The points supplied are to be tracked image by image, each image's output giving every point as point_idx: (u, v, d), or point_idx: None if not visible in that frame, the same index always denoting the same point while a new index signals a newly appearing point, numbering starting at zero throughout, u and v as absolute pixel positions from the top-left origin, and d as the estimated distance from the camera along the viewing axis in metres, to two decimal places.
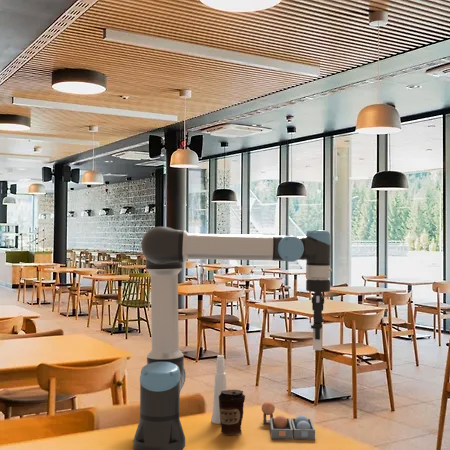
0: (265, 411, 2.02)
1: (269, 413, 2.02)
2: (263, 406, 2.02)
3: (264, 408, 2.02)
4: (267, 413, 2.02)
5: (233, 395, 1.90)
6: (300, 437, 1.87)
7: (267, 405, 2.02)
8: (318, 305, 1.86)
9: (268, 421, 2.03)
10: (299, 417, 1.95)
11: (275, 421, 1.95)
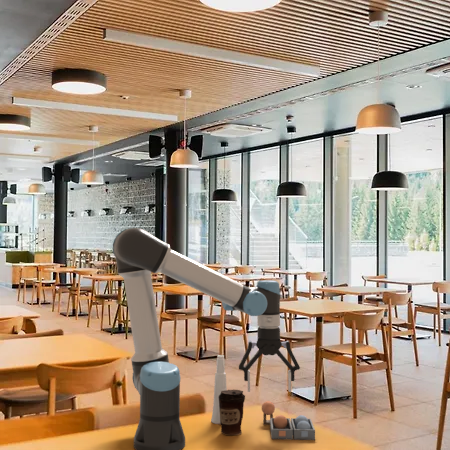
0: (265, 411, 2.02)
1: (269, 413, 2.02)
2: (263, 406, 2.02)
3: (264, 408, 2.02)
4: (267, 413, 2.02)
5: (233, 395, 1.90)
6: (300, 437, 1.87)
7: (267, 405, 2.02)
8: (247, 349, 2.04)
9: (268, 421, 2.03)
10: (299, 417, 1.95)
11: (275, 421, 1.95)
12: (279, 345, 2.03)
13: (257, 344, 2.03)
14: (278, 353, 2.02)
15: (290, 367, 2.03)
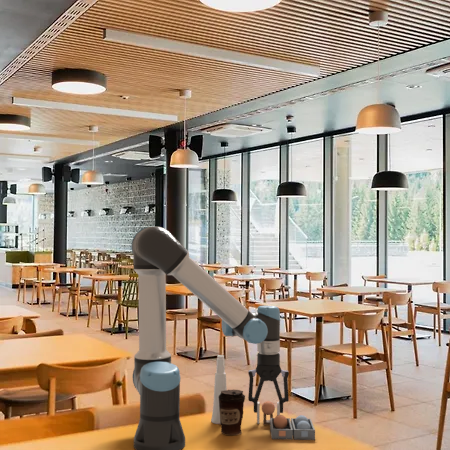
0: (265, 411, 2.02)
1: (269, 413, 2.02)
2: (263, 406, 2.02)
3: (264, 408, 2.02)
4: (267, 413, 2.02)
5: (233, 395, 1.90)
6: (300, 437, 1.87)
7: (267, 405, 2.02)
8: None
9: (268, 421, 2.03)
10: (299, 417, 1.95)
11: (275, 421, 1.95)
12: (278, 371, 2.03)
13: (257, 371, 2.03)
14: (275, 381, 2.02)
15: (280, 398, 2.02)
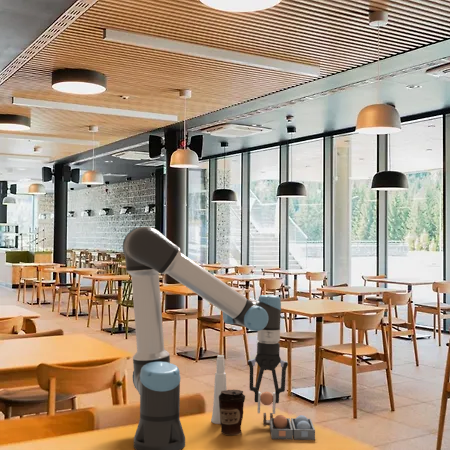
0: (263, 401, 2.02)
1: (267, 403, 2.02)
2: (262, 396, 2.02)
3: (263, 398, 2.02)
4: (265, 403, 2.02)
5: (233, 395, 1.90)
6: (300, 437, 1.87)
7: (266, 395, 2.02)
8: None
9: (268, 421, 2.03)
10: (299, 417, 1.95)
11: (275, 421, 1.95)
12: (278, 361, 2.03)
13: (256, 360, 2.03)
14: (273, 370, 2.02)
15: (276, 388, 2.02)
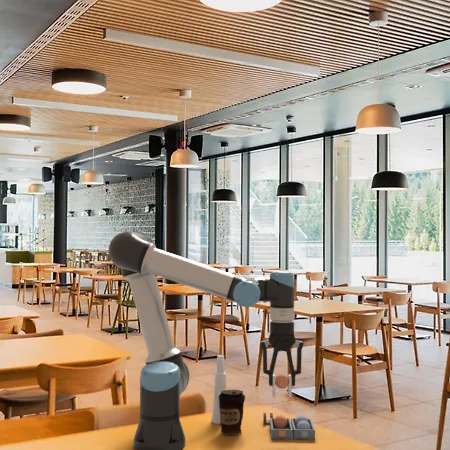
0: (279, 384, 1.89)
1: (283, 386, 1.89)
2: (276, 379, 1.89)
3: (278, 381, 1.89)
4: (281, 386, 1.89)
5: (233, 395, 1.90)
6: (300, 437, 1.87)
7: (281, 378, 1.89)
8: None
9: (268, 421, 2.03)
10: (299, 417, 1.95)
11: (275, 421, 1.95)
12: (292, 341, 1.90)
13: (270, 340, 1.90)
14: (288, 351, 1.89)
15: (292, 370, 1.89)
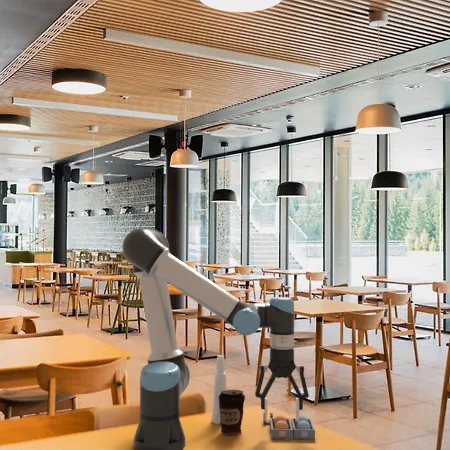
0: None
1: None
2: (276, 426, 1.89)
3: (277, 428, 1.88)
4: None
5: (233, 395, 1.90)
6: (300, 437, 1.87)
7: (280, 425, 1.88)
8: (260, 374, 1.90)
9: (268, 421, 2.03)
10: (299, 417, 1.95)
11: (275, 421, 1.95)
12: (293, 367, 1.89)
13: (269, 366, 1.90)
14: (290, 377, 1.89)
15: (299, 395, 1.89)
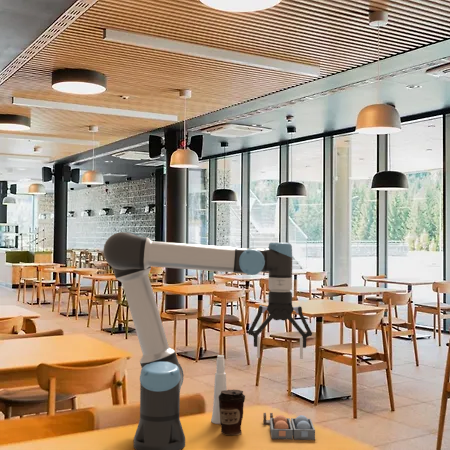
0: None
1: None
2: (276, 426, 1.89)
3: (277, 428, 1.88)
4: None
5: (233, 395, 1.90)
6: (300, 437, 1.87)
7: (280, 425, 1.88)
8: (257, 314, 1.95)
9: (268, 421, 2.03)
10: (299, 417, 1.95)
11: (275, 421, 1.95)
12: (291, 310, 1.94)
13: (268, 308, 1.94)
14: (289, 318, 1.93)
15: (302, 333, 1.93)
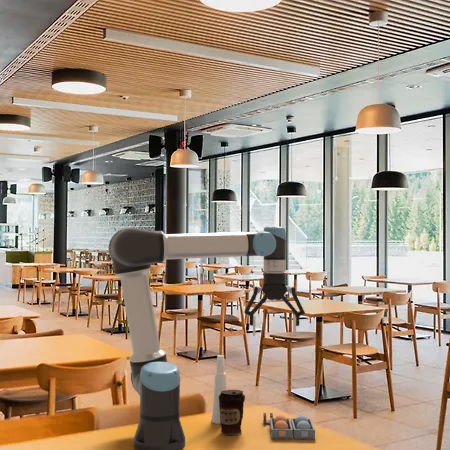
0: None
1: None
2: (276, 426, 1.89)
3: (277, 428, 1.88)
4: None
5: (233, 395, 1.90)
6: (300, 437, 1.87)
7: (280, 425, 1.88)
8: None
9: (268, 421, 2.03)
10: (299, 417, 1.95)
11: (275, 421, 1.95)
12: (285, 290, 2.05)
13: (263, 289, 2.06)
14: (283, 298, 2.05)
15: (295, 312, 2.05)
